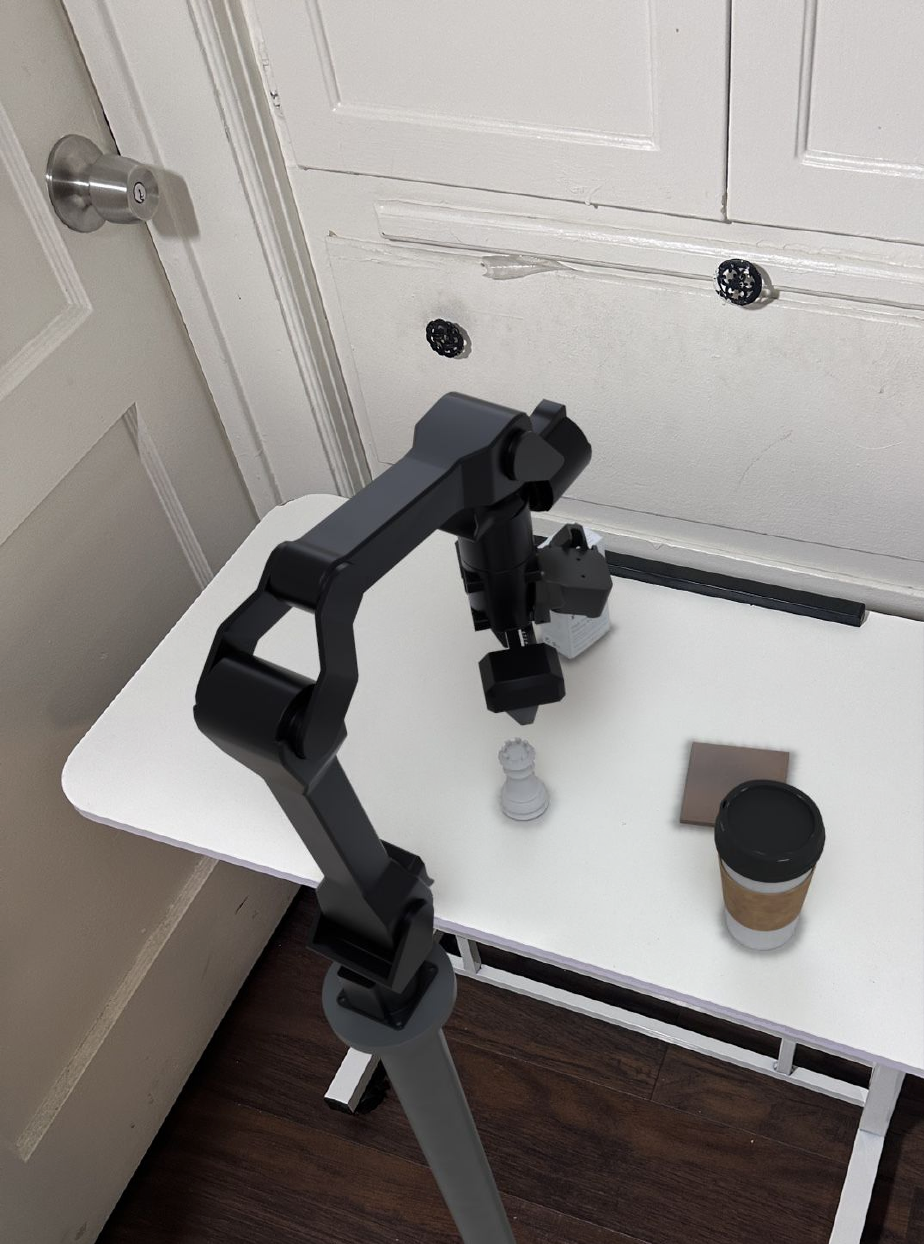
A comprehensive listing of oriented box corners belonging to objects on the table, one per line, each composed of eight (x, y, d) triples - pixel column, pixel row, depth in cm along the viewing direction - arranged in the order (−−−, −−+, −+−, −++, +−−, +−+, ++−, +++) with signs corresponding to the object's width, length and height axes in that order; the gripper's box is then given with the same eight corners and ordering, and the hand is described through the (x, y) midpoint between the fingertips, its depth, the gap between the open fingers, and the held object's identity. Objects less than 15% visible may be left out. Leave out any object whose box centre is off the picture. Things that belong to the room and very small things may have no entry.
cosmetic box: (572, 662, 122) (562, 572, 113) (539, 641, 124) (528, 551, 115) (613, 627, 125) (607, 537, 116) (581, 608, 127) (572, 517, 118)
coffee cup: (726, 866, 107) (732, 760, 95) (822, 892, 105) (839, 787, 93) (698, 947, 102) (700, 846, 90) (797, 976, 100) (812, 876, 88)
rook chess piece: (510, 779, 114) (499, 724, 107) (555, 789, 113) (548, 733, 106) (494, 817, 111) (482, 763, 105) (540, 827, 110) (532, 773, 104)
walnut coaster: (780, 834, 109) (780, 830, 108) (679, 823, 110) (679, 819, 109) (789, 755, 114) (789, 751, 114) (692, 745, 115) (693, 741, 115)
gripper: (626, 612, 89) (632, 748, 101) (577, 455, 100) (588, 594, 112) (473, 639, 87) (499, 773, 100) (442, 477, 99) (468, 615, 111)
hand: (518, 683), depth 106 cm, fingers open, 9 cm apart
